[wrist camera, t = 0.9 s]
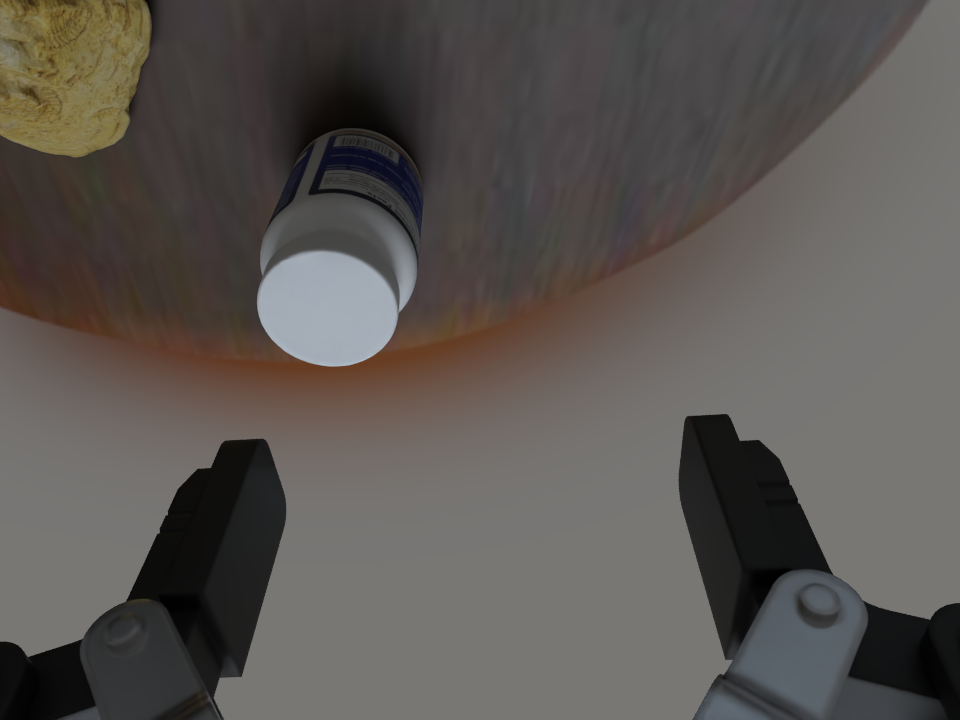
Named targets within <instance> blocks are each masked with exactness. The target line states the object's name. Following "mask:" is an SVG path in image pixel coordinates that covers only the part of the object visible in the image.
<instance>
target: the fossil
mask: <svg viewBox="0 0 960 720" xmlns="http://www.w3.org/2000/svg"><path fill="white" fill-rule="evenodd" d="M151 34H152V21H151V14H150V12H149V8H148V4H147V1H146V0H0V135H2V136H3V137H5V138H7V139H9V140H11V141H13V142H16V143H19V144H22V145H25V146H27V147H30V148H33V149H36V150H39V151H42V152H47V153H51V154H56V155H69V156H72V157H81V156H85V155H88V154H89V153H92V152H94V151H95V150H99V149H102V148H105V147H107V146H110V145H113V144H115V143H116V142H117V141H118V140H120V139H121V138H122V137H123V136H124V134H125V131H126V129H127V127H128V126H129V124H130V120H131V119H130V114H129V104H130V102H131V100H132V98H133V96H134V94H135V93H136V91H137V87H136V85H137V83H138V80H139V77H140V72H141V66H142V65H143V63H144V62H145V60H146V59H147V57H148V55H149V53H150V41H151Z"/></svg>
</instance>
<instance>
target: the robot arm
mask: <svg viewBox="0 0 960 720" xmlns="http://www.w3.org/2000/svg"><path fill="white" fill-rule="evenodd" d="M679 492H680V500H681V505H682V509H683V513H684V516H685V520H686V523H687V526H688V530H689V534H690V537H691V541H692V544H693V548H694V551H695V554H696V558H697V562H698V565H699V569H700V572H701V576H702V579H703V582H704V586H705V590H706V593H707V597H708V600H709V604H710V607H711V611H712V614H713V618H714V621H715V625H716V628H717V631H718V635H719V638H720V642H721V646H722V649H723V652H724V656H725V659H726V660H732V659H733V661H732V663H731V665H730V666H729V668H728V670H727V672H726V673H725V674H724V675H722V674H720V675H718V676H717V678H716V679H715V680H714V682H713V683H712V685H711V687H710V689H709V690H708V692H707V694H706V696H705V698H704V700H703V701H702V703H701V705H700V707H699V709H698V711H697V713H696V714H695V716H694V718H693V720H960V603H955V604H950V605H946V606H944V607H942V608H940V609H939V610H937V611H936V612H935V613H934V615H933V616H932V617H931V620H929V619H924V618H920V617H916V616H911V615H907V614H902V613H898V612H893V611H889V610H885V609H882V608H878V607H876V606H873V605H871V604H869V603H867V602H865V601H863V600H862V599H861V597H860V596H859V594H858V593H857V592H856V591H855V590H854V589H853V588H852V587H851V586H850V585H848V584H847V583H846V582H844V581H843V580H841V579H839V578H838V577H836V576H834V575H833V573H832V572H831V570H830V568H829V566H828V564H827V562H826V559H825V557H824V555H823V553H822V551H821V548H820V546H819V544H818V542H817V540H816V538H815V535H814V533H813V531H812V529H811V527H810V525H809V522H808V520H807V518H806V516H805V514H804V511H803V509H802V507H801V505H800V504H798V498H797V496H796V494H795V492H794V490H793V488H792V486H791V485H790V484H789V479H788V477H787V475H786V472H785V470H784V468H783V466H782V464H781V462H780V459H779V458H778V457H777V456H776V455H774V454H773V453H772V452H771V451H770V450H769V449H768V448H767V447H765V445H764V444H762V443H761V442H760V441H759V440H752V441H751V440H750V441H740V440H739V438H738V436H737V433H736V431H735V428H734V426H733V423H732V421H731V419H730V417H729V416H728V415H727V414H720V415H702V416H687V417H686V419H685V422H684V431H683V440H682V450H681V459H680V468H679ZM285 520H286V500H285V495H284V491H283V488H282V485H281V482H280V479H279V476H278V473H277V470H276V467H275V464H274V461H273V457H272V454H271V451H270V449H269V446H268V443H267V442H266V440H264V439H249V440H230V441H224V442H223V443H222V444H221V446H220V448H219V450H218V453H217V455H216V457H215V460H214V462H213V465H212V467H211V468H205V469H197V470H196V471H195V472H194V473H193V474H192V475H191V476H190V477H189V478H188V479H187V480H186V482H184V483H183V484H182V486H181V487H180V488H179V489H178V491H177V492H176V495H175V497H174V499H173V501H172V504H171V506H170V508H169V510H168V515H167V516H165V519H164V521H163V523H162V525H161V527H160V533H159V534H157V536H156V538H155V540H154V542H153V545H152V547H151V549H150V551H149V554H148V555H147V558H146V560H145V562H144V564H143V566H142V569H141V571H140V573H139V575H138V577H137V579H136V582H135V584H134V586H133V588H132V590H131V592H130V595H129V597H128V599H127V601H126V602H125V603H122V604H119V605H117V606H115V607H113V608H112V609H110V610H108V611H107V612H106V613H104V614H103V615H102V616H100V617H99V618H98V619H97V620H96V621H95V622H94V623H93V624H92V626H91V627H90V628H89V629H88V631H87V632H86V634H85V636H84V638H83V639H81V640H79V641H76V642H74V643H71V644H67V645H64V646H61V647H58V648H55V649H52V650H49V651H46V652H43V653H39V654H36V655H33V656H30V657H27V656H26V654H25V653H24V651H23V650H22V649H21V648H20V647H19V646H18V645H16V644H14V643H10V642H0V720H224V718H223V716H222V714H221V712H220V710H219V708H218V706H217V704H216V702H215V700H214V698H213V697H214V694H215V691H216V688H217V684H218V681H219V678H221V677H242V673H243V670H244V666H245V663H246V659H247V656H248V652H249V649H250V645H251V642H252V638H253V635H254V631H255V628H256V624H257V621H258V617H259V614H260V610H261V607H262V603H263V600H264V596H265V593H266V589H267V586H268V582H269V578H270V575H271V572H272V568H273V564H274V561H275V558H276V554H277V551H278V547H279V544H280V540H281V537H282V533H283V529H284V526H285Z"/></svg>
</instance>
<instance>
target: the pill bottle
mask: <svg viewBox="0 0 960 720" xmlns="http://www.w3.org/2000/svg"><path fill="white" fill-rule="evenodd" d="M422 211H423V187H422V182H421V178H420V175H419V172H418V170H417V168H416V166H415V164H414V162H413V161H412V159H411V158H410V157H409V155H408V154H407V153H406V152H405V151H404V150H403V149H402V148H401V147H400V146H399V145H398V144H396V143H395V142H394V141H393V140H391V139H389V138H388V137H386V136H384V135H382V134H379V133H377V132H374V131H370V130H366V129H359V128H345V129H339V130H334V131H331V132H328V133H326V134H324V135H322V136H320V137H318V138H317V139H315V140H314V141H312V142H311V143H310V144H309V145H308V146H307V147H306V148H305V149H304V150H303V151H302V153H301V154H300V156H299V157H298V159H297V161H296V162H295V164H294V166H293V169H292V171H291V173H290V176H289V178H288V180H287V183H286V185H285V188H284V190H283V192H282V195H281V197H280V199H279V202H278V204H277V206H276V208H275V211H274V213H273V215H272V218H271V220H270V222H269V225H268V227H267V229H266V232H265V234H264V237H263V241H262V246H261V253H260V264H261V272H262V276H263V277H262V280H261V283H260V286H259V290H258V295H257V308H258V314H259V318H260V320H261V323H262V325H263V327H264V329H265V331H266V332H267V334H268V335H269V337H270V338H271V339H272V340H273V341H274V342H275V343H276V344H277V345H278V346H279V347H281V348H282V349H283V350H284V351H286V352H287V353H289V354H291V355H292V356H294V357H296V358H298V359H300V360H303V361H306V362H309V363H312V364H317V365H324V366H345V365H351V364H355V363H358V362H361V361H363V360H366V359H368V358H370V357H372V356H373V355H375V354H376V353H377V352H379V351H380V350H381V349H382V348H383V347H384V346H385V345H386V344H387V343H388V341H389V340H390V338H391V337H392V335H393V332H394V330H395V327H396V325H397V320H398V313H399V312H400V311H401V310H402V309H403V307H404V306H405V305H406V303H407V302H408V300H409V298H410V296H411V294H412V292H413V289H414V286H415V282H416V278H417V270H418V261H419V249H420V235H421V223H422Z"/></svg>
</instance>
